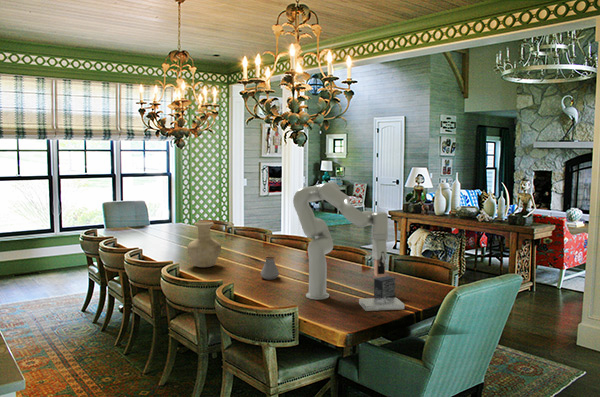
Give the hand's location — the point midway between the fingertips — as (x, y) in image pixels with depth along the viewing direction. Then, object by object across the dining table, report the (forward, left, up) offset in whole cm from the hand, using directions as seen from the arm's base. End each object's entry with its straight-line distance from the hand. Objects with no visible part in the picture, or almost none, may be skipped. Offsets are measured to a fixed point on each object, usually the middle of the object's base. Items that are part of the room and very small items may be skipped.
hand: (379, 272), depth 247 cm
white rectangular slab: (0, +1, -18) cm, 18 cm away
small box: (-16, +8, -18) cm, 26 cm away
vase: (-100, -91, -18) cm, 136 cm away
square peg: (0, 0, -2) cm, 2 cm away
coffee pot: (-61, -54, -18) cm, 83 cm away
